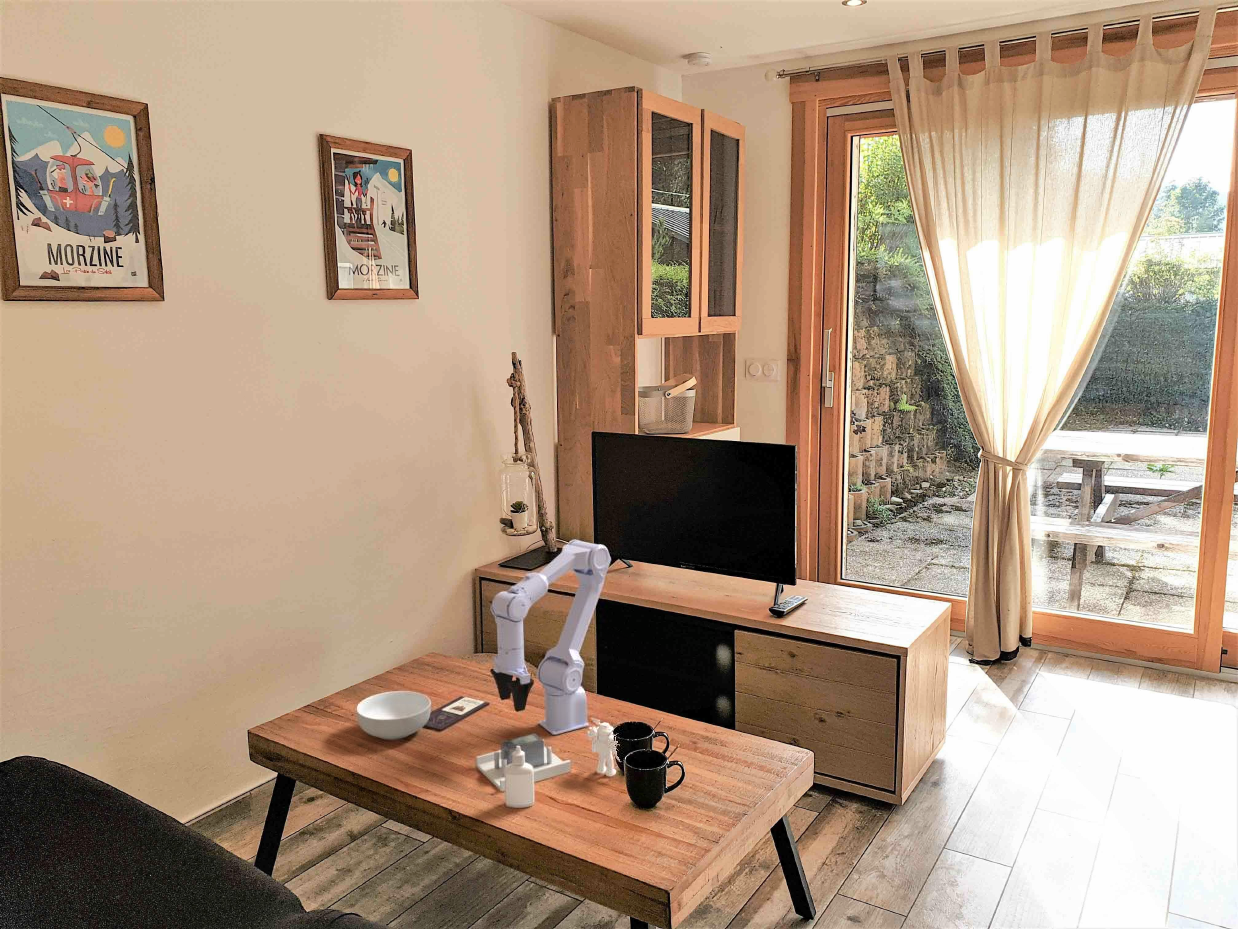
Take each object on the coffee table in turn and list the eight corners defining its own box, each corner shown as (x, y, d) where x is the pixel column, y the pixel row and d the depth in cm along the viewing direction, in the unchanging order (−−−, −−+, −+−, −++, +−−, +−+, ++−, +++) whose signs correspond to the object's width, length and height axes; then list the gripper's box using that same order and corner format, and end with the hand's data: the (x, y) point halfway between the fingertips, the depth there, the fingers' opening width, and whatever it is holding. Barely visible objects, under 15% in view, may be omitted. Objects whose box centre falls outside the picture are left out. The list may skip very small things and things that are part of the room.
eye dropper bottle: (525, 812, 185) (523, 754, 183) (501, 805, 188) (499, 748, 186) (538, 802, 189) (536, 745, 187) (514, 796, 192) (512, 739, 190)
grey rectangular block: (535, 757, 207) (534, 732, 206) (544, 764, 203) (543, 739, 202) (501, 766, 202) (500, 741, 202) (510, 774, 199) (509, 749, 198)
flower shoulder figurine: (583, 770, 202) (582, 716, 200) (595, 763, 205) (594, 710, 203) (617, 782, 197) (616, 727, 195) (629, 775, 200) (628, 720, 198)
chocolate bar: (412, 722, 227) (461, 696, 242) (412, 725, 227) (461, 699, 242) (441, 729, 222) (489, 702, 237) (441, 733, 222) (489, 706, 238)
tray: (543, 748, 212) (542, 730, 212) (571, 771, 202) (570, 752, 201) (476, 766, 204) (475, 748, 204) (501, 791, 193) (501, 771, 193)
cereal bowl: (389, 755, 210) (388, 725, 209) (342, 736, 220) (340, 707, 219) (447, 729, 224) (445, 700, 223) (400, 712, 234) (398, 684, 233)
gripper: (480, 640, 214) (482, 697, 216) (508, 659, 202) (510, 720, 204) (509, 634, 218) (511, 691, 220) (538, 652, 206) (539, 712, 208)
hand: (512, 704), depth 212 cm, fingers open, 7 cm apart
